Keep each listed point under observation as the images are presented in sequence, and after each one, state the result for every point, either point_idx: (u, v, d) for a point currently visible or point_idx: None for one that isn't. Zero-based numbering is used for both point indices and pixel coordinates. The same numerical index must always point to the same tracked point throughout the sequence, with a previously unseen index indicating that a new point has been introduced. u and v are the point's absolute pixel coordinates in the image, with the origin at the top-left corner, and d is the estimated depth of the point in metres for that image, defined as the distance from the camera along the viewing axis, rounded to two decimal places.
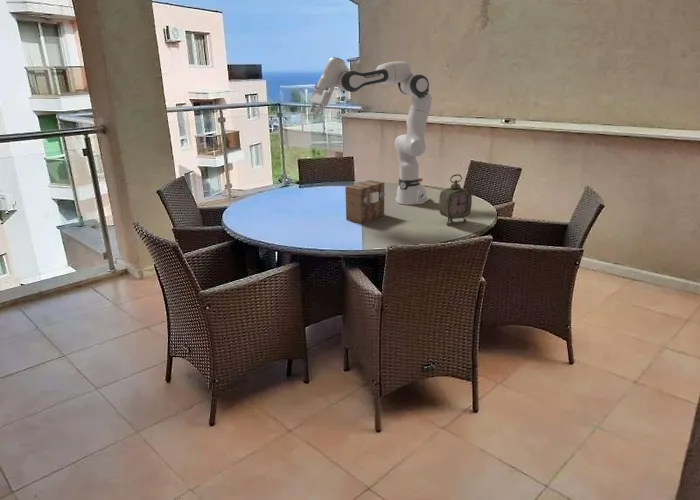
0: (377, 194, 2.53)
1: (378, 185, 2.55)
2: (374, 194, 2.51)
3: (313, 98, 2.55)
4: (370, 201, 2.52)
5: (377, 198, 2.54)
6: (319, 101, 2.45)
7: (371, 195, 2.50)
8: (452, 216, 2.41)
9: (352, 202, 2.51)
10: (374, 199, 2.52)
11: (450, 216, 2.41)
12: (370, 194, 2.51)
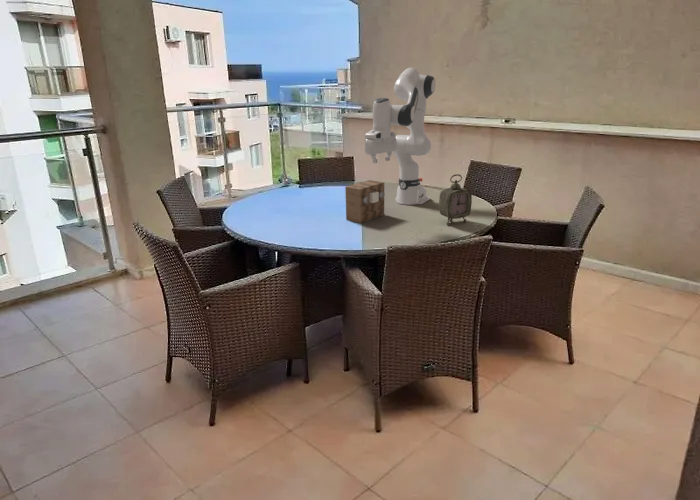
0: (377, 194, 2.53)
1: (378, 185, 2.55)
2: (374, 194, 2.51)
3: (376, 149, 2.33)
4: (370, 201, 2.52)
5: (377, 198, 2.54)
6: (393, 148, 2.41)
7: (371, 195, 2.50)
8: (452, 216, 2.41)
9: (352, 202, 2.51)
10: (374, 199, 2.52)
11: (450, 216, 2.41)
12: (370, 194, 2.51)
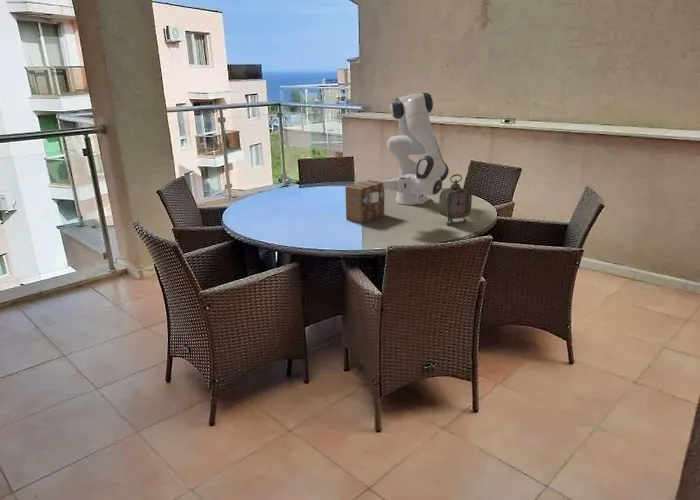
0: (377, 194, 2.53)
1: (378, 185, 2.55)
2: (374, 194, 2.51)
3: None
4: (370, 201, 2.52)
5: (377, 198, 2.54)
6: None
7: (371, 195, 2.50)
8: (452, 216, 2.41)
9: (352, 202, 2.51)
10: (374, 199, 2.52)
11: (450, 216, 2.41)
12: (370, 194, 2.51)
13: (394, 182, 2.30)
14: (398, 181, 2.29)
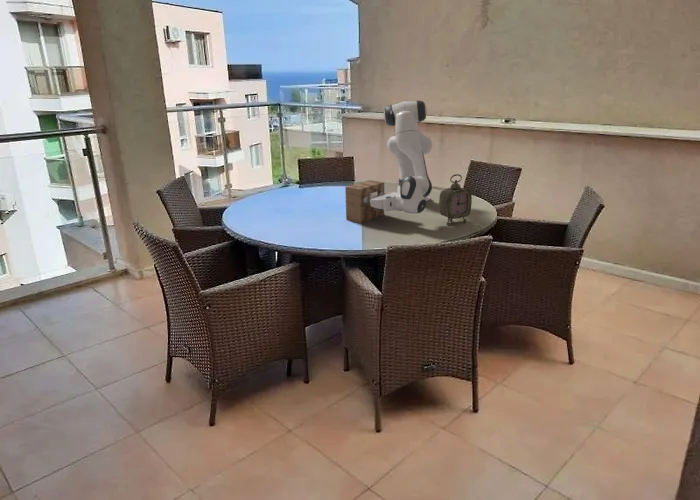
0: (376, 194, 2.53)
1: (378, 185, 2.55)
2: (372, 193, 2.51)
3: None
4: (369, 201, 2.52)
5: None
6: None
7: (370, 195, 2.51)
8: (452, 216, 2.41)
9: (352, 202, 2.51)
10: None
11: (450, 216, 2.41)
12: (369, 194, 2.51)
13: (380, 201, 2.39)
14: (384, 200, 2.38)
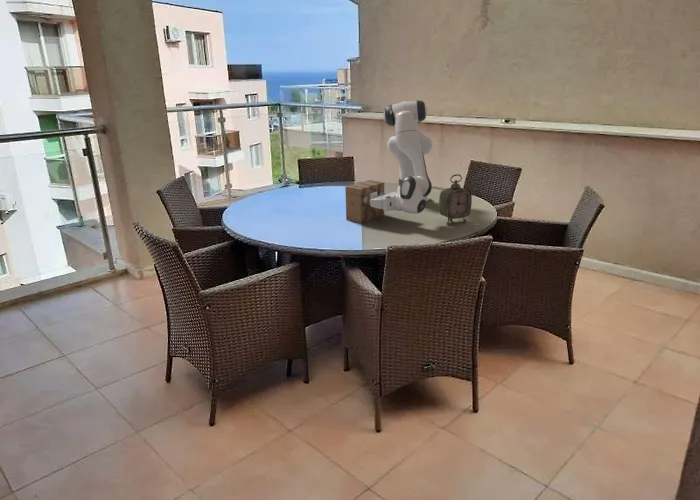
0: (376, 194, 2.53)
1: (378, 185, 2.55)
2: (372, 193, 2.51)
3: None
4: (369, 201, 2.53)
5: None
6: None
7: (370, 195, 2.51)
8: (452, 216, 2.41)
9: (352, 202, 2.51)
10: None
11: (450, 216, 2.41)
12: (369, 194, 2.51)
13: (380, 201, 2.39)
14: (384, 200, 2.38)
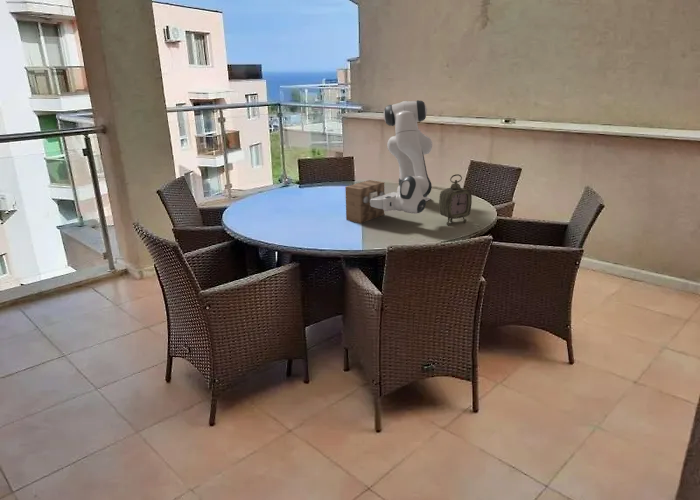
0: (376, 194, 2.53)
1: (378, 185, 2.55)
2: (372, 193, 2.51)
3: None
4: (369, 201, 2.53)
5: None
6: None
7: (370, 195, 2.51)
8: (452, 216, 2.41)
9: (352, 202, 2.51)
10: None
11: (450, 216, 2.41)
12: (369, 194, 2.51)
13: (380, 201, 2.39)
14: (384, 200, 2.38)
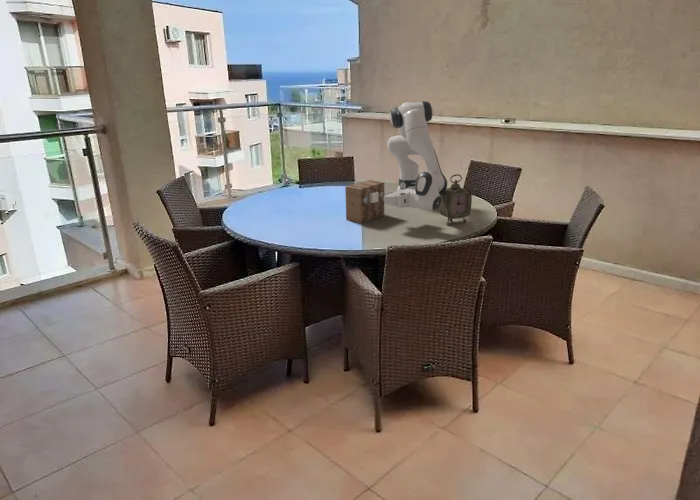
0: (377, 194, 2.53)
1: (378, 185, 2.55)
2: (373, 194, 2.51)
3: None
4: (370, 201, 2.52)
5: (377, 198, 2.54)
6: None
7: (371, 195, 2.50)
8: (452, 216, 2.41)
9: (352, 202, 2.51)
10: (374, 199, 2.52)
11: (450, 216, 2.41)
12: (370, 194, 2.51)
13: (394, 198, 2.33)
14: (398, 197, 2.32)
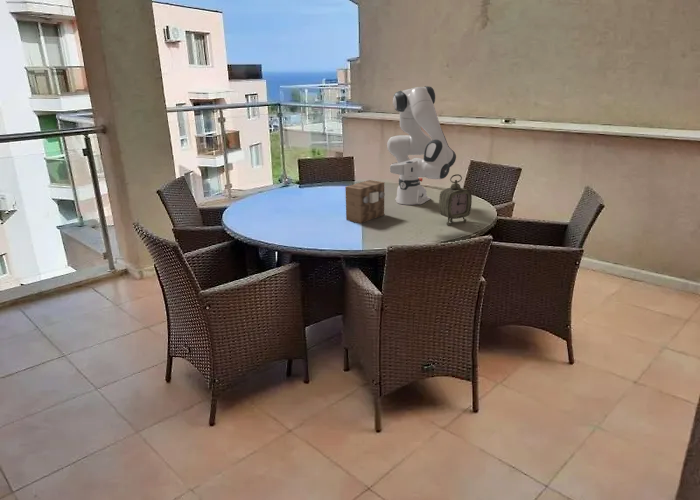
0: (377, 194, 2.53)
1: (378, 185, 2.55)
2: (373, 194, 2.51)
3: None
4: (370, 201, 2.52)
5: (377, 198, 2.54)
6: None
7: (371, 195, 2.50)
8: (452, 216, 2.41)
9: (352, 202, 2.51)
10: (374, 199, 2.52)
11: (450, 216, 2.41)
12: (370, 194, 2.51)
13: (401, 166, 2.27)
14: (405, 165, 2.26)
